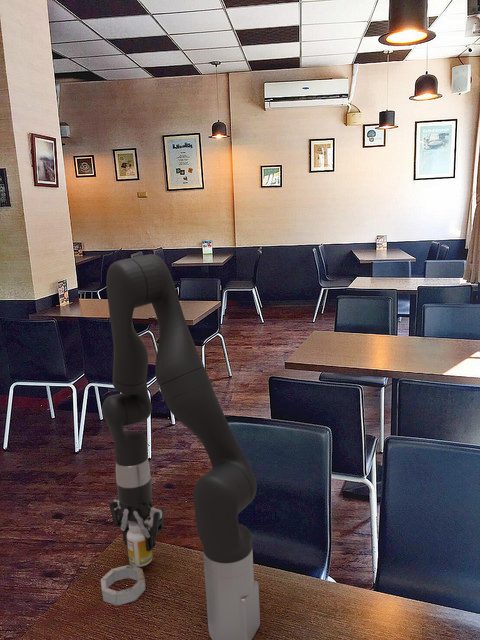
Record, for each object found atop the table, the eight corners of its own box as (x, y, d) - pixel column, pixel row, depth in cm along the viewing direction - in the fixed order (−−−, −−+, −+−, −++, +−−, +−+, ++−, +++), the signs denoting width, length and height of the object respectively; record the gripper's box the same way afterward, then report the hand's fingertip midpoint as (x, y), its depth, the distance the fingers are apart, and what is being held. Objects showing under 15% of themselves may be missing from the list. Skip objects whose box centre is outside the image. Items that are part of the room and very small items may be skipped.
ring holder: (152, 581, 113) (151, 571, 113) (127, 609, 105) (126, 598, 105) (120, 571, 117) (119, 562, 117) (93, 597, 109) (92, 587, 109)
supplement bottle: (155, 553, 121) (152, 515, 119) (149, 568, 116) (145, 528, 114) (133, 552, 121) (129, 515, 120) (125, 567, 116) (122, 528, 114)
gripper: (169, 476, 115) (174, 544, 118) (118, 466, 121) (124, 531, 124) (150, 491, 109) (156, 563, 111) (97, 480, 115) (104, 548, 118)
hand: (139, 546), depth 118 cm, fingers closed on supplement bottle, 5 cm apart
